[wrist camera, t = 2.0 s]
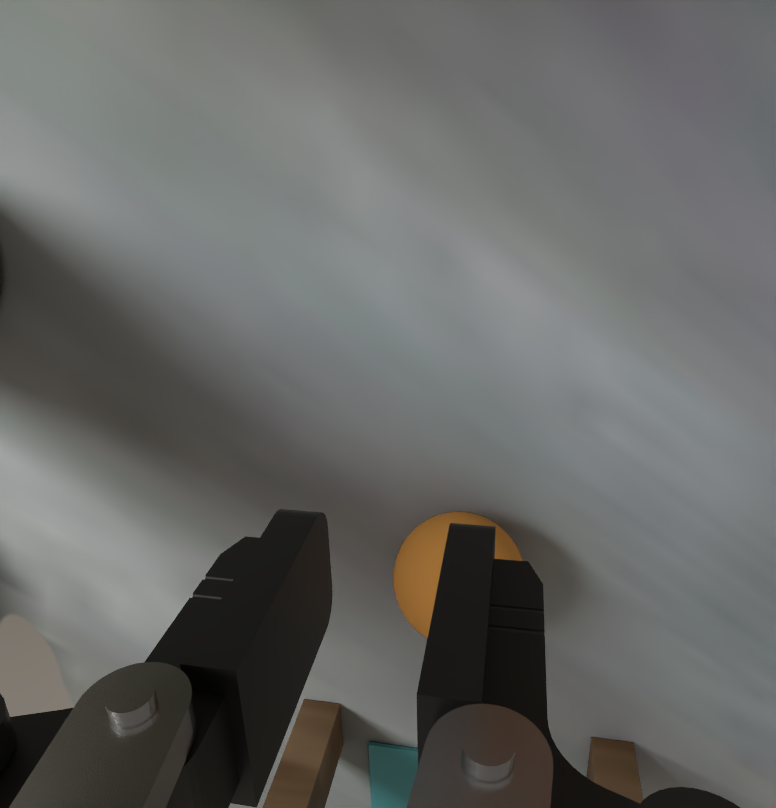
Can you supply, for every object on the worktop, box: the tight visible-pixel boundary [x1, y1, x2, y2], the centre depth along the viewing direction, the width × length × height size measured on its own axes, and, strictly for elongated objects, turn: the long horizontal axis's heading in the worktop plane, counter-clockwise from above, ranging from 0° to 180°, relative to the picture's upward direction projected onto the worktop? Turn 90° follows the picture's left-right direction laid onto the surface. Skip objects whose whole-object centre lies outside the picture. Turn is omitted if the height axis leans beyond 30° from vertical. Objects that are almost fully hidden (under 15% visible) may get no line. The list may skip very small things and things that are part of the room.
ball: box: [394, 512, 523, 638], centre depth 28 cm, size 6×6×6 cm
